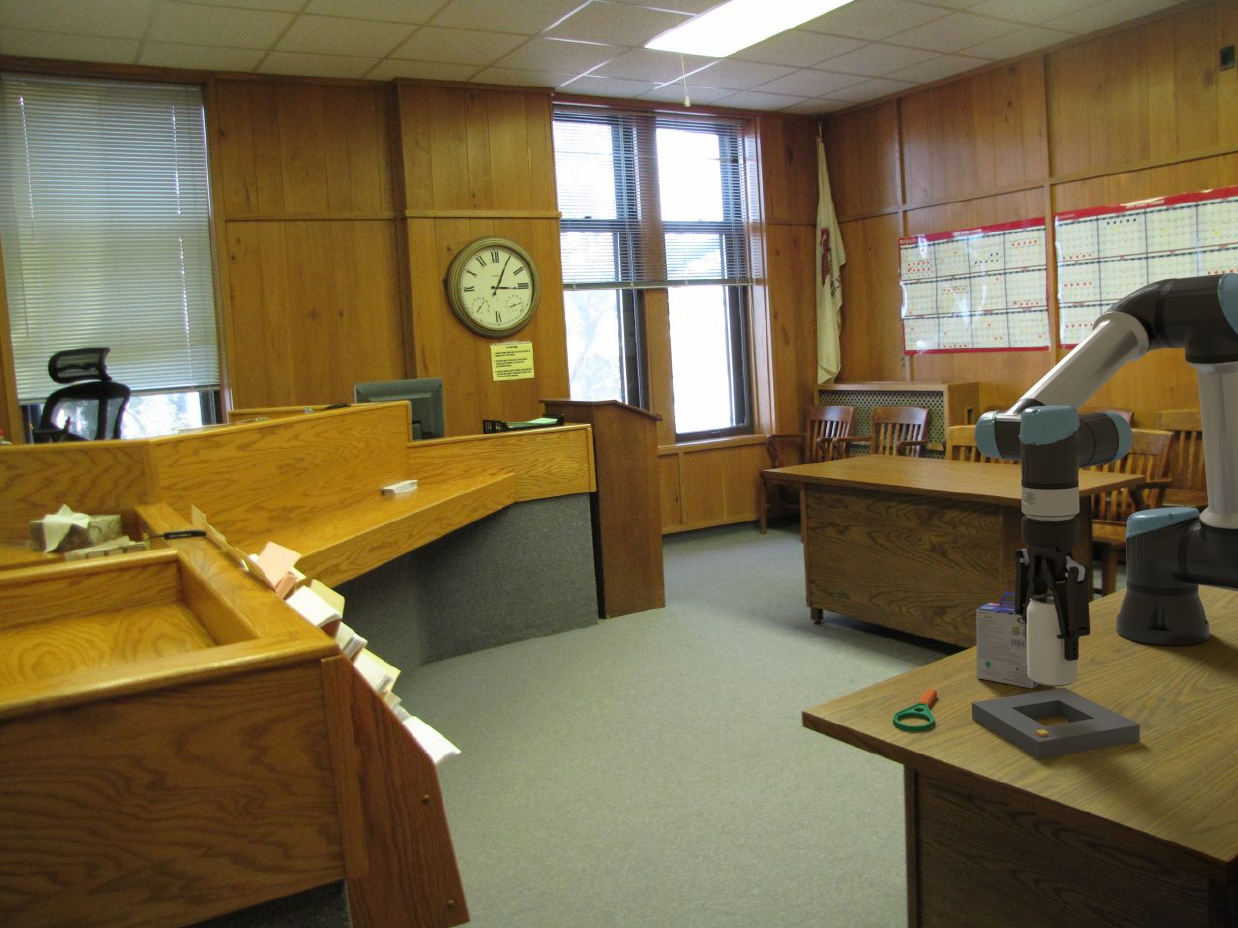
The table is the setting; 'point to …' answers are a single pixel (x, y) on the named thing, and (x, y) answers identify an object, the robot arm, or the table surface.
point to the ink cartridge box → (1002, 644)
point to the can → (1043, 640)
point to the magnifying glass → (917, 713)
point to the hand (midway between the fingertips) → (1051, 672)
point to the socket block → (1082, 734)
